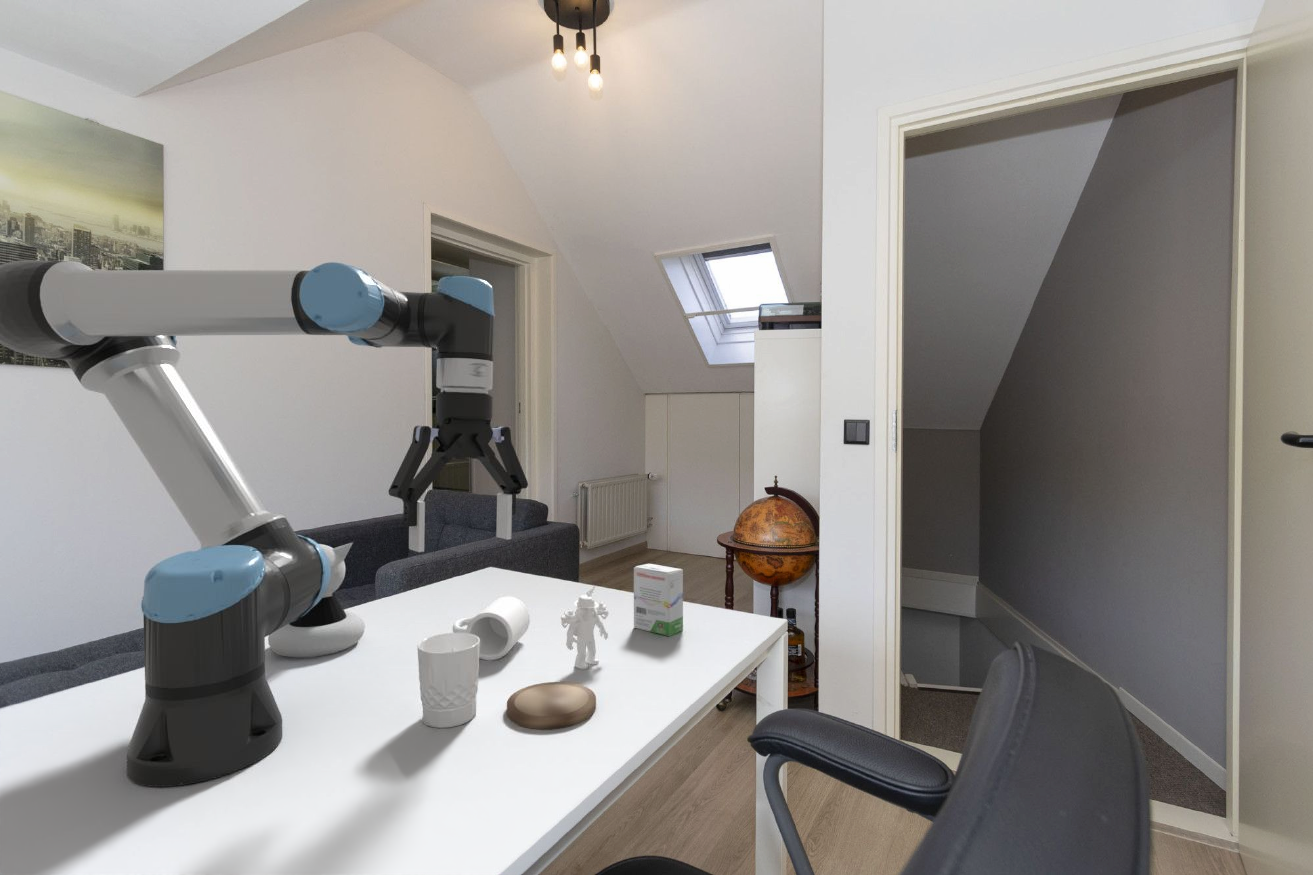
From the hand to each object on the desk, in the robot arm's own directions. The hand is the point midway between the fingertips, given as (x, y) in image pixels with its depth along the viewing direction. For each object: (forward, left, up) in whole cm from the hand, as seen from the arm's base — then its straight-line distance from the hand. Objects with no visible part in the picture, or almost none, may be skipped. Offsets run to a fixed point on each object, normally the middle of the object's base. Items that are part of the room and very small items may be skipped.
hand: (462, 544), depth 90 cm
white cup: (-3, -4, -22) cm, 23 cm away
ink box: (+41, +8, -22) cm, 47 cm away
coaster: (+9, -10, -22) cm, 26 cm away
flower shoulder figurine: (+21, +1, -22) cm, 30 cm away
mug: (+11, +17, -22) cm, 30 cm away
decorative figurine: (-12, +36, -22) cm, 44 cm away
